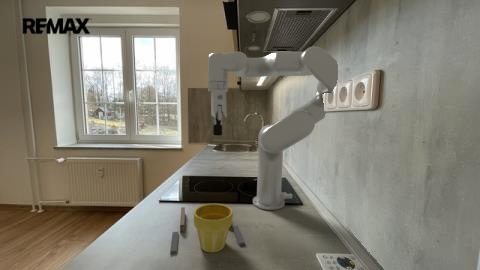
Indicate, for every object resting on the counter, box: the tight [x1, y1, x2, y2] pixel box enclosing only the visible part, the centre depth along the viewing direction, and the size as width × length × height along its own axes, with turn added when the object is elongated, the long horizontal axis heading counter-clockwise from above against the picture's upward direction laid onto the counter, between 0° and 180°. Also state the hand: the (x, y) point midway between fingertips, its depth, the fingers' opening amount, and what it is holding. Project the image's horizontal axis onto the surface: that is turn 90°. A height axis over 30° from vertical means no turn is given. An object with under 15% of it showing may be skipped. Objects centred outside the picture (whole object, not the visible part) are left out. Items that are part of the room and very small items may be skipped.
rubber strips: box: [169, 225, 246, 255], centre depth 62 cm, size 20×9×1 cm, turn 103°
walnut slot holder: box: [179, 203, 232, 234], centre depth 73 cm, size 15×12×2 cm
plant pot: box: [193, 203, 234, 253], centre depth 59 cm, size 10×10×10 cm
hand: (217, 135), depth 86 cm, fingers closed
